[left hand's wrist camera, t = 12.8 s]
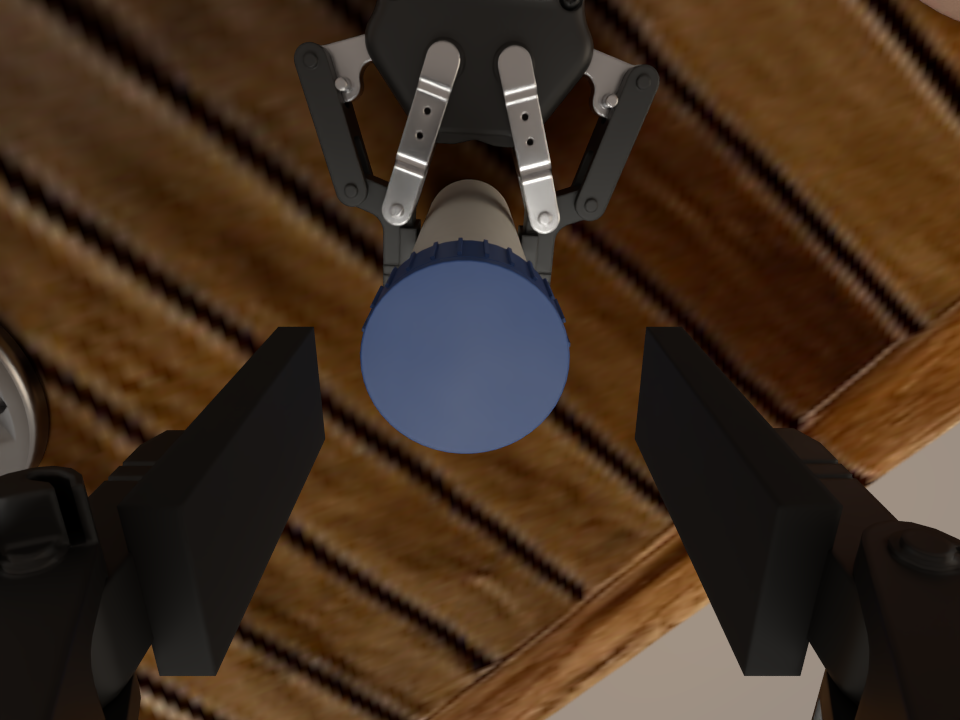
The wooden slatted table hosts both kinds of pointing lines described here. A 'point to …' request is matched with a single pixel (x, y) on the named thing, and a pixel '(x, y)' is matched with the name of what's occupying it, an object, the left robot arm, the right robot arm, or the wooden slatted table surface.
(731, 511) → the left robot arm
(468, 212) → the white bottle
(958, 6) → the anatomical model
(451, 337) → the lid
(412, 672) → the wooden slatted table surface
